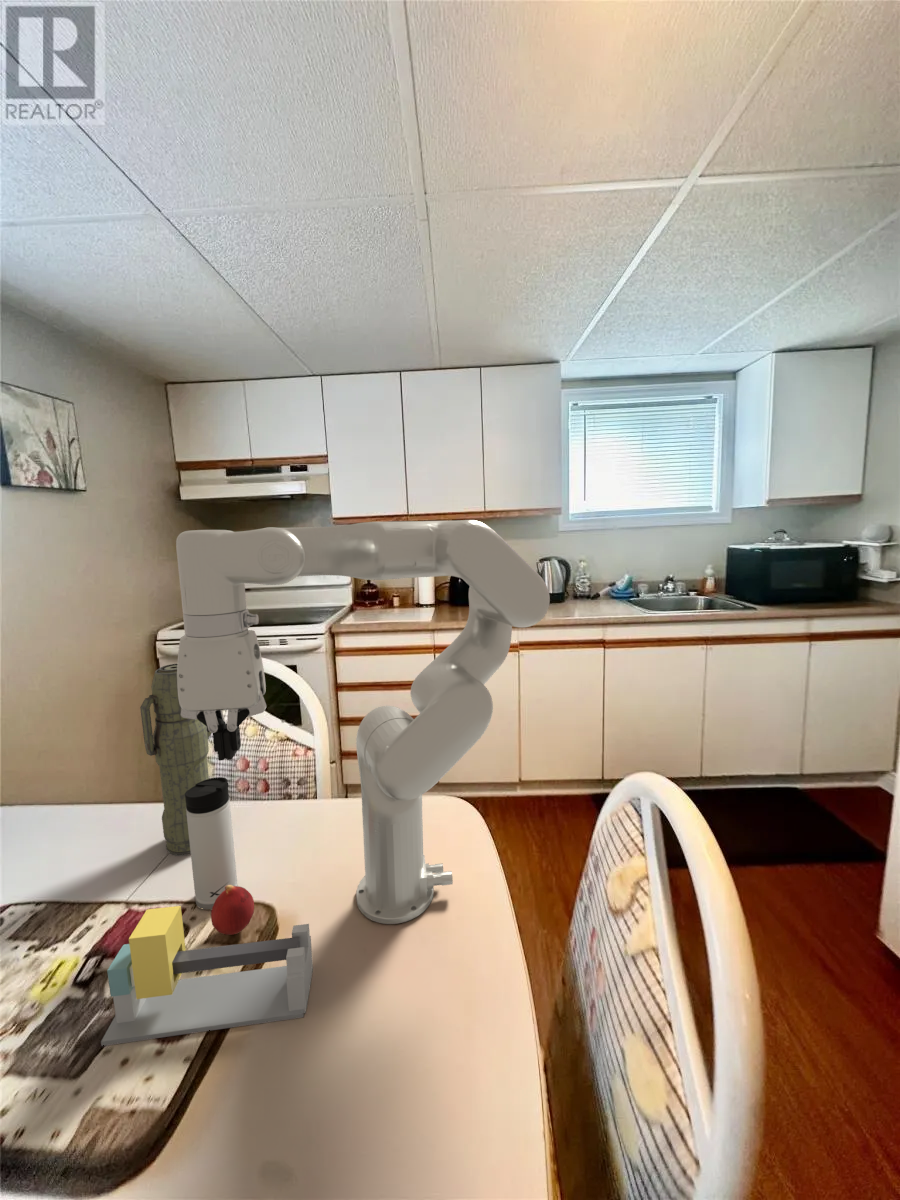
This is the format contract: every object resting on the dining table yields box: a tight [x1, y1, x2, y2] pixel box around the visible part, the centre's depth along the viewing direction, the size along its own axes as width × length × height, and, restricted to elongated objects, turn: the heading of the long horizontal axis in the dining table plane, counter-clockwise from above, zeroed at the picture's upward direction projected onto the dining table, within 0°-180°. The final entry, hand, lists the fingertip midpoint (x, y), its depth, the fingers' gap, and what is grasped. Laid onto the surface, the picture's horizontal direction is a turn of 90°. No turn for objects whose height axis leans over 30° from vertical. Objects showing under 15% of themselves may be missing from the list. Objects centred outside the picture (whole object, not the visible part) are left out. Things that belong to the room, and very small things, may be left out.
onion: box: [210, 885, 255, 936], centre depth 71 cm, size 6×6×8 cm
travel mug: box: [185, 776, 239, 910], centre depth 77 cm, size 6×7×20 cm
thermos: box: [139, 663, 213, 856], centre depth 91 cm, size 9×12×35 cm
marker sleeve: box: [128, 905, 187, 999], centre depth 59 cm, size 4×4×8 cm
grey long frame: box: [100, 923, 314, 1047], centre depth 60 cm, size 23×7×8 cm, turn 98°
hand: (228, 755), depth 66 cm, fingers closed
